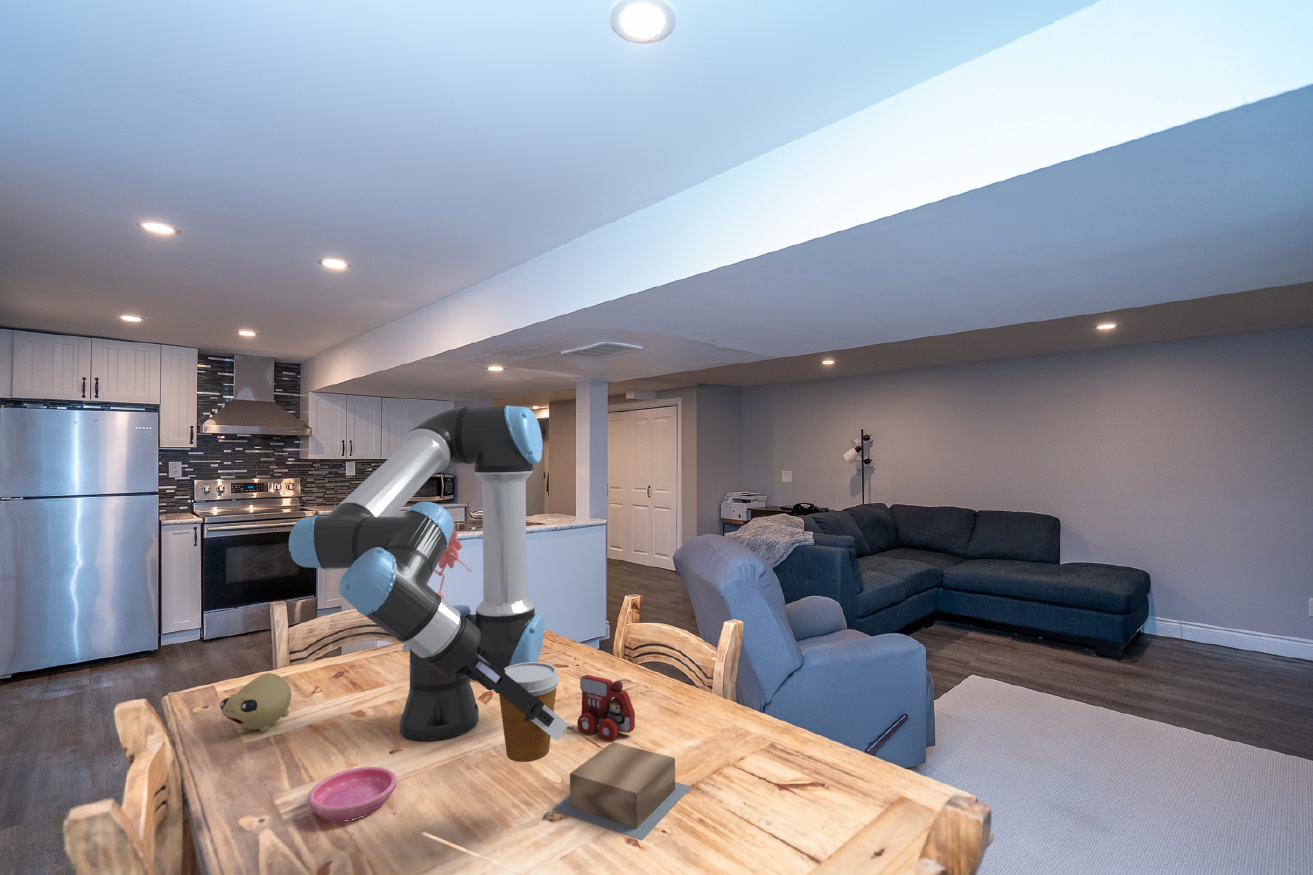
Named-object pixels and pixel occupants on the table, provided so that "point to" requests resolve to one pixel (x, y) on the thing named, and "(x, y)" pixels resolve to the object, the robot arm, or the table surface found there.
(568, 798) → the mat
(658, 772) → the pedestal
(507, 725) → the disposable coffee cup
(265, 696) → the green toy animal
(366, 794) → the saucer
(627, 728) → the toy fire truck
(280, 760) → the table surface
